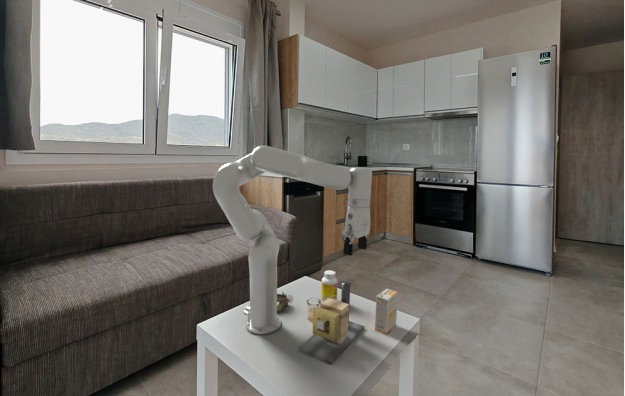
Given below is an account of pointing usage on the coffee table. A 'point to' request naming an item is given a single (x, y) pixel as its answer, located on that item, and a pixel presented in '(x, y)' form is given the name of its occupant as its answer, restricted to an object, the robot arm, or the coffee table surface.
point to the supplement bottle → (329, 286)
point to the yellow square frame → (329, 316)
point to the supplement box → (386, 310)
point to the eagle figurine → (283, 301)
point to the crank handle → (345, 298)
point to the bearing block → (328, 348)
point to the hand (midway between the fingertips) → (355, 251)
